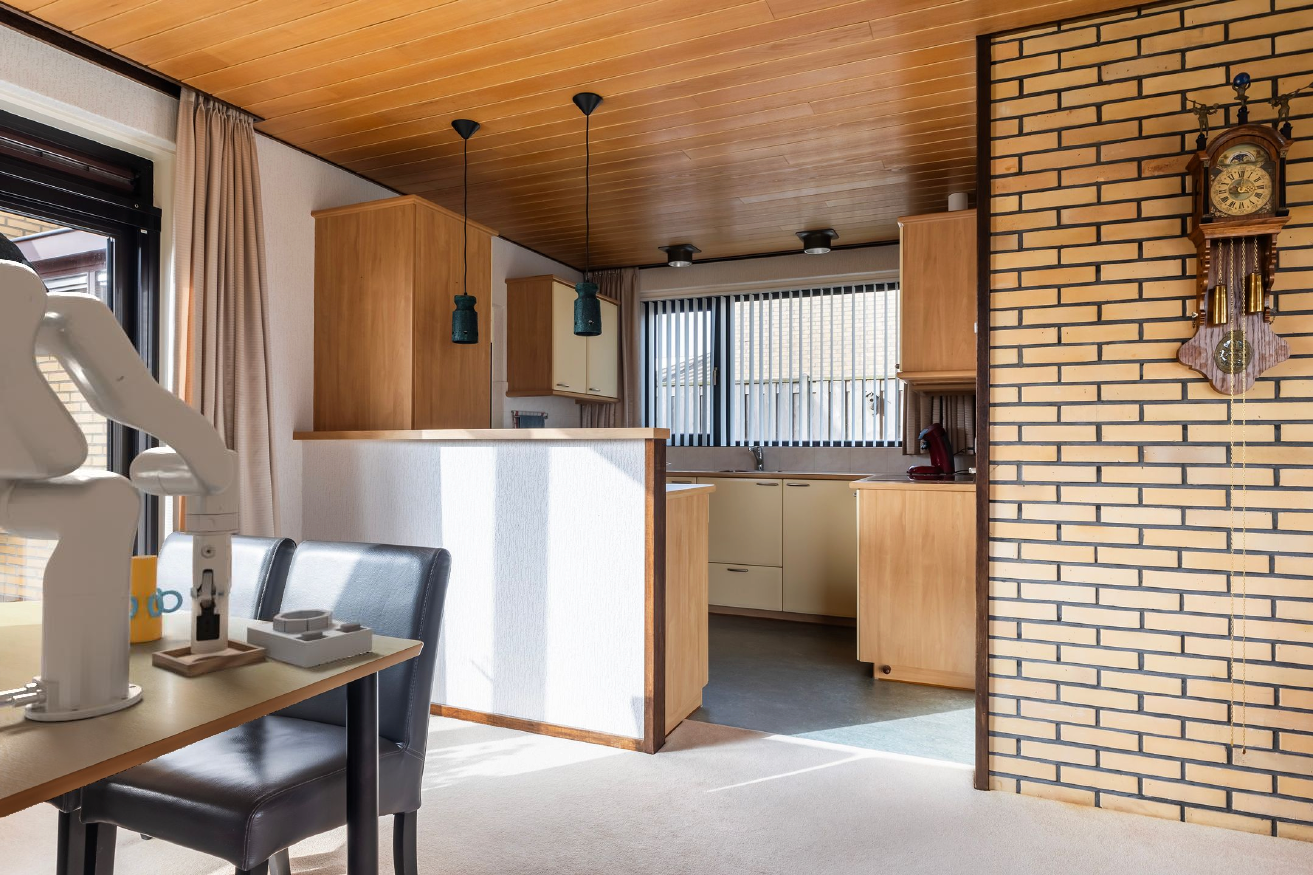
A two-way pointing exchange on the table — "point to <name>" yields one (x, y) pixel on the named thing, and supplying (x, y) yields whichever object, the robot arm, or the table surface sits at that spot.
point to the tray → (208, 658)
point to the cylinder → (147, 600)
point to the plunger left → (311, 635)
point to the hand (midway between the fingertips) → (209, 634)
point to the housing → (289, 647)
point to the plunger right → (350, 627)
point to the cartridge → (222, 642)
